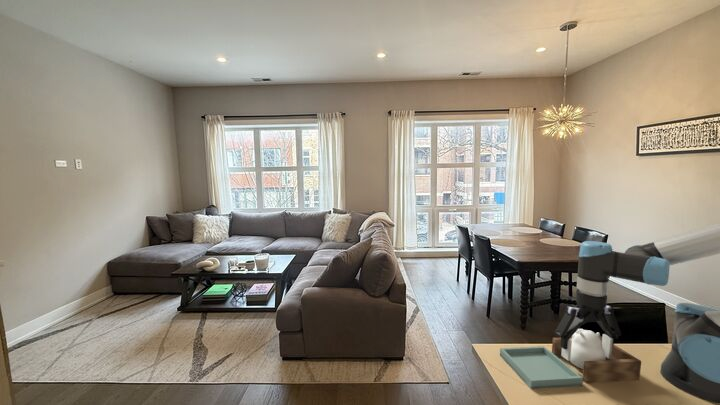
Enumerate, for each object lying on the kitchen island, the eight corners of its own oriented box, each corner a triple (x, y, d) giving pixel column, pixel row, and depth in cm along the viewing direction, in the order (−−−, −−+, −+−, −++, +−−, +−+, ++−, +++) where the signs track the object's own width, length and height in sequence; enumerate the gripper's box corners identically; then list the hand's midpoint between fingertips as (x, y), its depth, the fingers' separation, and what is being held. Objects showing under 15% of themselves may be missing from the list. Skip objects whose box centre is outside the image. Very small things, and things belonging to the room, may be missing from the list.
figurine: (613, 380, 86) (616, 341, 85) (576, 375, 88) (579, 337, 87) (593, 359, 96) (596, 324, 95) (560, 355, 98) (563, 321, 97)
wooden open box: (598, 352, 100) (599, 335, 99) (639, 380, 86) (641, 361, 86) (551, 354, 98) (552, 337, 98) (586, 383, 85) (587, 363, 84)
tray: (543, 353, 99) (544, 346, 99) (582, 385, 84) (582, 377, 84) (499, 355, 98) (500, 348, 98) (530, 389, 82) (531, 380, 82)
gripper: (617, 286, 95) (611, 348, 97) (544, 288, 92) (540, 351, 94) (641, 295, 87) (634, 362, 89) (563, 297, 85) (557, 366, 87)
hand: (585, 357), depth 92 cm, fingers open, 13 cm apart
